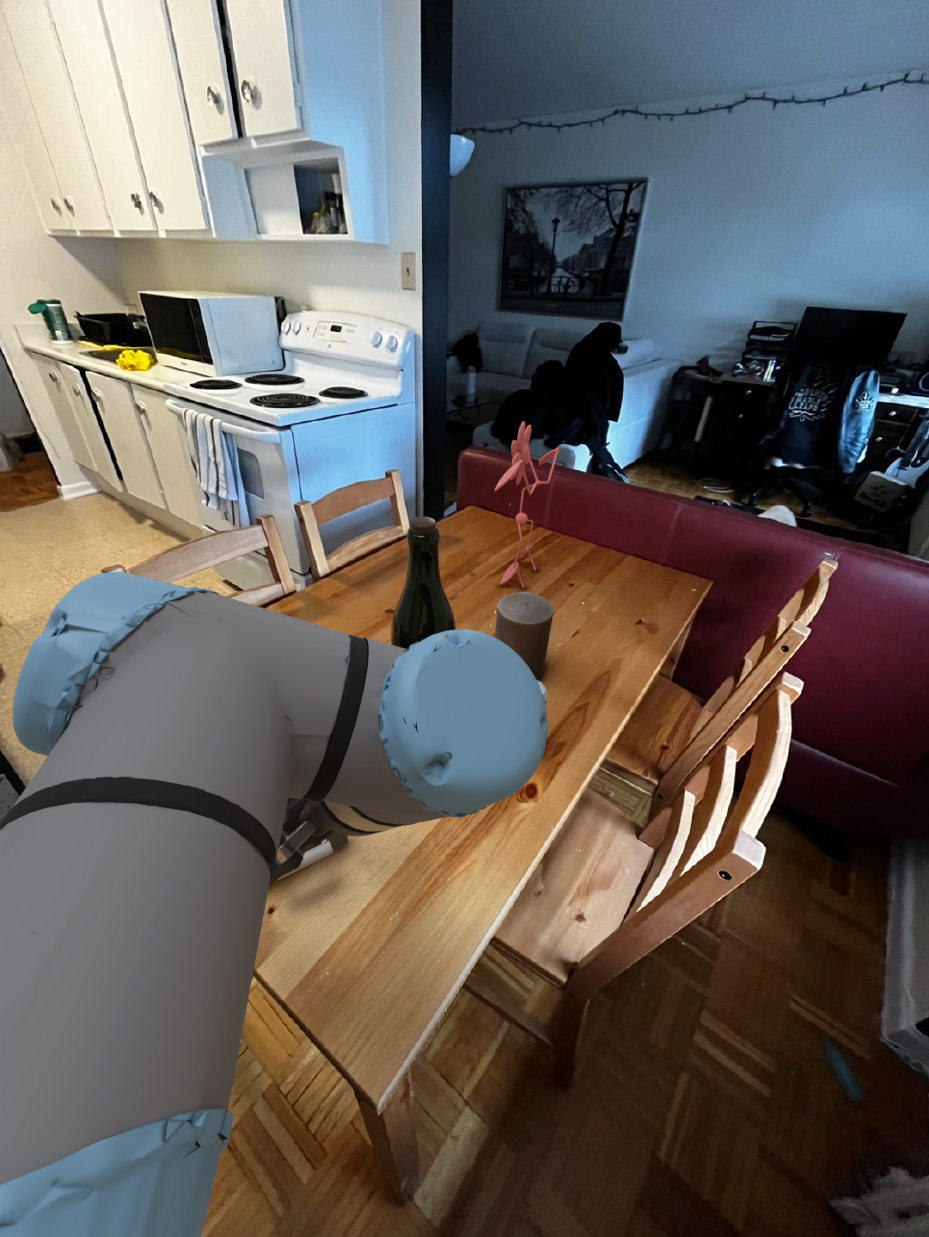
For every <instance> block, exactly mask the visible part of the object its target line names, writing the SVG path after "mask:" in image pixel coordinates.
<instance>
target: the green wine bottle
mask: <svg viewBox="0 0 929 1237" xmlns="http://www.w3.org/2000/svg"><path fill="white" fill-rule="evenodd" d="M440 539H441V535H440V531H439V529H438V527H437V524H436V520H435V519H434V518H432V517H429V516H417V517H414V518H412V519H411V521H410V526H409V527H408V529H407V533H406V542H407V566H406V576H405V581H404V586H403V589H402V591H401V593H400V596H399V598H398V600H397V602H396V605H395V607H394V610H393V613H392V619H391V624H390V645H394V646H397V647H401V648H404V649H409V647H410V645H412V644H414V643H416V642H421V641H422V640H424V639H426V638H428V637H430V636H431V635H434V634H437V633H441V632H444V631H450V630H457V626H456V625H457V624H456V618H455V614H454V610H453V608H452V606H451V603H450V601H449V599H448V596H447V593H446V592H445V588H444V586H443V583H442V578H441V571H440V552H439V551H440V549H439V548H440Z"/></svg>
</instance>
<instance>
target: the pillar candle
mask: <svg viewBox="0 0 929 1237" xmlns="http://www.w3.org/2000/svg"><path fill="white" fill-rule="evenodd" d="M496 608H497V609H496V610H497V611H496V619H495V627H494V628H495V629H494V636H493V637H494V638H496V639H498V640H500V641H501V642H503V643H504V644H506V645H507V646H509V647H510V648H511V649H512V650H513V651H515V652H516V653H517V654H518V655H519V656H520V657H521V658H522V659H523V661H524V662H525V663H526V664H527V665H528V667H529V668H530V670H531V671H532V673H533V674H534V676H535V678H536V680H537V681H540V680H541V677H542V676H543V674H544V671H545V665H546V660H547V654H548V647H549V642H550V634H551V629H552V623H553V617H554V605H553V604H552V603H551V602H550V601H549V600H548V599H546V598H545V597H543V596H540V595H538V594H536V593H531V592H525V591H520V592H516V593H515V592H512V593H509V594H506V595H504V596H503V597H501V598H500V600H498V603H497V604H496Z"/></svg>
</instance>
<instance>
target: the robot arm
mask: <svg viewBox="0 0 929 1237" xmlns="http://www.w3.org/2000/svg"><path fill="white" fill-rule="evenodd" d="M494 637H495V636H492V635H491V634H488V633H485V632H482V631H478V630H473V629H469V628H463V629H456V630H450V631H444V632H441V633H437V634H434V635H431V636H430V637H428V638H426V639H424V640H422V641H421V642H416V643H414V644H412V645H410V647H409V649H404V648H401V647H397V646H394V645H391V643H386V642H383V641H380V640H377V639H374V638H371V637H366V636H365V637H359V636H356V635H352V634H349V633H347V632H343V631H340V630H336V629H333V628H330V627H326V626H323V625H320V624H317V623H313V622H310V621H307V620H303V619H301V618H297V617H293V616H290V615H287V614H284V613H280V612H277V611H274V610H271V609H268V608H267V609H266V608H264V607H261V606H258V605H254V604H251V603H247V602H244V601H241V600H238V599H235V598H231V597H228V596H225V595H221V594H220V593H219V592H216V591H214V590H212V589H210V588H201V587H197V586H191V587H186V586H182V585H178V584H174V583H170V582H166V581H162V580H158V579H154V578H150V577H144V576H142V575H137V574H133V573H129V572H123V571H108V572H100V573H97V574H94V575H92V576H90V577H88V578H85V579H84V580H82V581H80V582H79V583H77V584H76V585H75V586H73V587H72V588H71V589H70V590H69V591H67V593H66V594H65V595H63V596H62V598H61V599H60V600H59V601H58V602H57V603H56V605H55V606H54V608H53V609H52V611H51V612H50V614H49V618H48V621H47V623H46V625H45V628H44V630H43V631H42V633H41V634H40V635H39V636H37V637H36V638H35V639H34V640H33V641H32V643H31V644H30V647H29V649H28V651H27V653H26V657H25V659H24V661H23V664H22V667H21V669H20V672H19V676H18V677H17V682H16V686H15V690H14V694H13V701H12V708H11V711H12V726H13V730H14V733H15V736H16V738H17V739H18V741H19V743H20V744H21V745H22V746H24V747H25V749H27V750H29V751H30V752H33V753H35V754H39V755H42V756H46V758H45V759H44V760H43V762H42V764H41V765H40V767H38V769H37V771H36V773H35V774H34V775H33V777H32V779H30V782H29V783H28V784H27V786H26V787H25V788H24V790H23V792H22V793H21V794H20V796H19V797H18V799H17V800H16V801H15V803H14V805H13V806H12V807H11V808H10V809H9V810H8V811H7V812H6V813H5V815H4V816H3V818H2V820H1V821H0V1237H202V1235H203V1229H204V1226H205V1221H206V1217H207V1214H208V1213H207V1211H208V1208H209V1204H210V1199H211V1195H212V1190H213V1185H214V1181H215V1177H216V1172H217V1168H218V1164H219V1159H220V1155H221V1151H222V1150H223V1149H225V1148H226V1147H228V1146H229V1145H228V1144H229V1142H230V1138H231V1133H232V1129H233V1123H234V1122H233V1121H234V1112H233V1111H230V1110H229V1107H230V1100H231V1096H232V1089H233V1084H234V1078H235V1073H236V1068H237V1064H238V1063H237V1062H238V1059H239V1058H238V1056H239V1051H240V1046H241V1041H242V1035H243V1029H244V1024H245V1018H246V1013H247V1008H248V1002H249V997H250V992H251V987H252V981H253V975H254V969H255V966H256V965H255V964H256V959H257V953H258V949H259V944H260V937H261V932H262V926H263V921H264V915H265V911H266V905H267V904H266V903H267V899H268V894H269V888H270V886H271V885H273V884H274V883H276V881H279V880H278V879H279V878H280V877H282V876H283V875H285V874H288V873H290V872H291V871H292V870H294V869H295V870H296V869H297V868H298V867H299V866H300V865H301V862H302V860H303V859H304V858H303V856H304V855H305V853H304V852H303V851H302V850H303V849H304V848H305V847H306V846H307V845H309V844H313V845H319V844H320V843H321V842H322V841H324V840H325V839H326V838H327V837H328V836H330V835H331V834H332V833H333V832H337V833H340V834H343V835H348V837H365V836H371V835H375V834H379V833H383V832H386V831H389V830H392V829H396V828H400V827H404V826H412V825H415V824H420V823H425V822H430V821H434V820H439V819H444V818H449V817H450V818H460V819H461V818H466V817H467V816H468V815H470V816H473V815H475V814H477V813H478V812H479V811H481V810H485V809H486V808H488V807H489V806H491V805H494V804H496V803H498V802H501V801H504V800H506V799H508V798H510V797H512V796H513V795H514V794H516V793H517V792H518V791H520V790H521V789H522V788H523V787H524V786H525V785H526V784H527V783H528V782H529V781H530V780H531V778H533V776H534V774H536V771H537V769H538V767H539V766H540V764H541V761H542V759H543V756H544V754H545V750H546V745H547V744H546V743H547V738H548V731H549V727H548V726H549V725H548V715H547V706H546V704H545V702H544V698H543V695H542V692H541V689H540V687H539V684H538V682H537V680H536V678H535V676H534V674H533V673H532V671H531V670H530V668H529V667H528V665H527V664H526V663H525V662H524V661H523V659H522V658H521V657H520V656H519V655H518V654H517V653H516V652H515V651H513V650H512V649H511V648H510V647H509V646H507V645H506V644H504V643H503V642H501V641H500V640H498V639H496V638H494ZM288 798H295V799H299V800H298V801H297V802H296V803H295V804H294V805H293V806H292V807H291V808H290V809H289V810H288V811H287V817H288V819H287V820H286V821H284V818H285V813H286V808H287V803H288ZM307 802H308V804H307V805H306V806H305V804H306V803H307Z"/></svg>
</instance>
